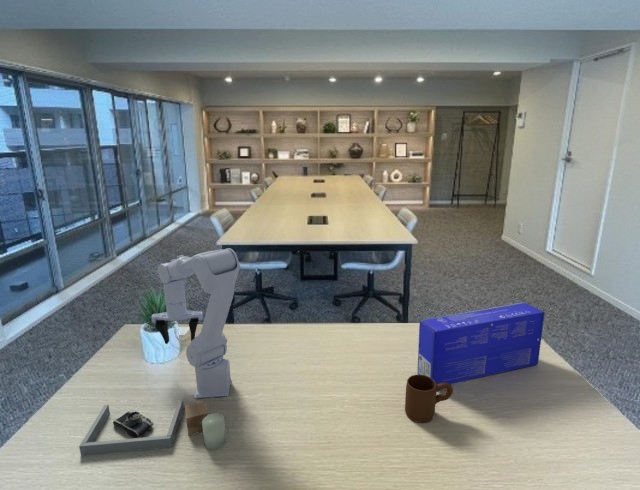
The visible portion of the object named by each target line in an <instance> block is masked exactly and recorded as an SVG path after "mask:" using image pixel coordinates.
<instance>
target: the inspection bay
mask: <svg viewBox="0 0 640 490" xmlns="http://www.w3.org/2000/svg"><path fill="white" fill-rule="evenodd" d="M184 409H185V404H184V398H179V400H178V401H177V404H176V408H175V411H174V413H173V417H172V418H171V422H170V425H169V427H168V431H167V434H166V435H158V436H157V435H156V436H145V437H140V438H133V437H132V438H125V439H113V440H101V441H95V439H96V438H97V436H98V434H99V432H100V430H101V429H102V427H103V426H104V424H105V422H106V420H107V419H108V417H109V415H110V413H111V412H110V407H109V404H105V405H103V407H102V408H101V410H100V412H99V414H98V415H97V417H95V420H94V421H93V422H92V424H91V427H90V428H89V429H88V431H87V433H86V435H85V436H84V438H83V439H82V441H81V443H80V444H79V446H78V448H79V453H80V456H89V455H100V454H109V453H121V452H132V451H143V450H144V451H145V450H154V449H155V450H156V449H165V448H172V446H173V443H174V440H175V437H176V433H177V431H178V426H179V424H180V420H181V418H182V414H183V413H184V412H183V411H184Z"/></svg>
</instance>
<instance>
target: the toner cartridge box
mask: <svg viewBox="0 0 640 490" xmlns="http://www.w3.org/2000/svg"><path fill="white" fill-rule="evenodd" d="M544 321H545V311H543V310H542V309H539V308H537V307H535V306H533V305H531V304H529V303H527V302H525V301H524V302H520V303H513V304H507V305H500V306H495V307H490V308H483V309H478V310H472V311H465V312H460V313H455V314H448V315H444V316H437V317H432V318H425V319H420V320H419V328H418V330H419V331H418V349H417V350H418V351H417V352H418V355H417V356H418V357H417V374H416V375H425V376H428V377H430V378H432V379H433V380H434V381H435V382H436V385H437V384H440V383H443V382H444V383H448V384H450V385H452V384H456V383H460V382H465V381H466V382H467V381H469V380H474V379H480V378H483V377H488V376H491V375H495V374H500V373H504V372H508V371H513V370H518V369H524V368H526V367H531V366H535V365H536V366H537V365H538V364H539V359H540V351H541V344H542V336H543V329H544Z"/></svg>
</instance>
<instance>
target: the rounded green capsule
mask: <svg viewBox="0 0 640 490" xmlns="http://www.w3.org/2000/svg"><path fill="white" fill-rule="evenodd" d="M225 423H226V422H225V417H224V415H223V414H221V413H211V414H208V416H206V417H205V418H204V419H203V421H202V426H203V432H202V434H203V444H204V448H206V449H208V450H212V451H213V450H214V451H215V450H218V449H221V448H222V447H223V446H224V445H225V444H226V441H227V437H226V427H225V426H226V425H225Z"/></svg>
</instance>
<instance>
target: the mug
mask: <svg viewBox="0 0 640 490" xmlns="http://www.w3.org/2000/svg"><path fill="white" fill-rule="evenodd" d="M442 390H446V391H445V392H444V393H438V394H437V392H440V391H442ZM453 393H454V388H453V386H452V384H448V383H444V382H443V383H440V384H437V385H436V382H435V381H434V380H433V379H432V378H430V377H428V376H425V375H418V374H414V375H410V376H409V377H408V378H407V380H406V385H405V399H404V400H405V402H404V404H405V405H404V412H405V414H406V416H407V417H408V418H409V419H410V420H412V421H413V422H416V423H421V424H422V423H423V424H425V423H429V422H431V421H432V420H433V419H434V417H435V415H436V414H435V412H436V405H437V404H438V403H441V402H444V401H447V400H449V399H450V398H451V397H452V396H453Z"/></svg>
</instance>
